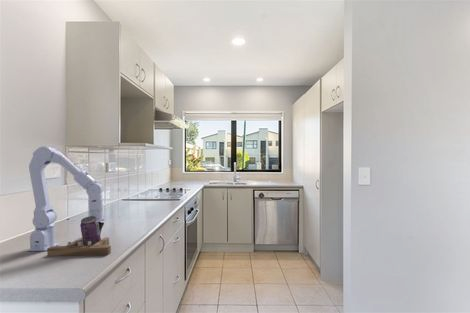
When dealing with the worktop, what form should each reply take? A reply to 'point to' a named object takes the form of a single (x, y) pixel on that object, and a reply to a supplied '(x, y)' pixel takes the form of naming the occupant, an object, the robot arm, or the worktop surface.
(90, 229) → the beverage can
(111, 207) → the worktop surface
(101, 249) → the pin nest
